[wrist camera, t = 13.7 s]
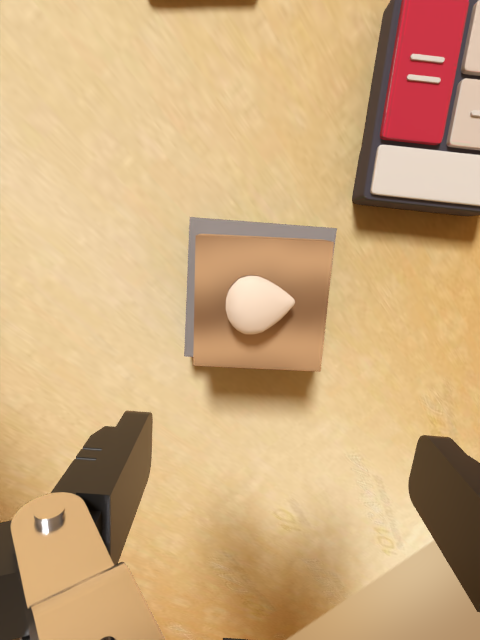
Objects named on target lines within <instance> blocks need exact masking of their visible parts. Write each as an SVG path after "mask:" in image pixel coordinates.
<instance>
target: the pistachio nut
mask: <svg viewBox="0 0 480 640" xmlns="http://www.w3.org/2000/svg"><path fill="white" fill-rule="evenodd" d="M294 304H295V300H294V299H293V298H292V297H291V296H290V295H289V294H288V293H287V292H285V291H284V290H283V289H281V288H280V287H279V286H277V285H275V284H274V283H272V282H270V281H269V280H267V279H264V278H262V277H260V276H254V275H247V276H243V277H239V278H238V279H237V280H236V281H235V282H234V283H233V284H232V285H231V287H230V288H229V291H228V294H227V297H226V312H227V316H228V319H229V321H230V323H231V324H232V326H233V327H234V328H235V329H236V330H238V331H239V332H241V333H243V334H258V333H262V332H264V331H265V330H267V329H268V328H270V327H271V326H273V325H274V324H276V323H277V322H278V321H280V320H281V319H282V318H283V317H284V316H285V315H286V314H287V313H288V311H289V310H290V309H291V308H292V307H293V306H294Z"/></svg>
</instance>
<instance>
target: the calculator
mask: <svg viewBox="0 0 480 640" xmlns="http://www.w3.org/2000/svg"><path fill="white" fill-rule="evenodd" d="M352 201H353V203H355V204H359V205H368V206H377V207H386V208H395V209H405V210H414V211H423V212H432V213H442V214H451V215H460V216H475V215H480V0H391V1H390V3H389V4H388V6H387V8H386V9H385V11H384V14H383V19H382V25H381V31H380V36H379V42H378V48H377V54H376V60H375V66H374V72H373V78H372V85H371V91H370V97H369V104H368V110H367V117H366V123H365V129H364V136H363V142H362V148H361V151H360V155H359V161H358V167H357V172H356V178H355V184H354V190H353V197H352Z"/></svg>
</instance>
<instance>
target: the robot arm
mask: <svg viewBox="0 0 480 640" xmlns="http://www.w3.org/2000/svg"><path fill="white" fill-rule="evenodd" d="M151 454H152V413H149V412H137V411H125V413H124V414H123V416H122V418H121V419H120V421H119V423H118V424H117V426H116V427H109V426H105V427H103V428H102V429H100V430H99V431H97V432H96V433H94V434H92V435H91V436H90V438H89V439H88V440H87V442H86V443H85V445H84V446H83V449H81V450H80V452H79V453H78V455H77V456H76V459H74V460H73V462H72V463H71V465H70V466H69V468H68V469H67V470H66V472H65V473H64V475H63V476H62V478H61V479H60V480H59V482H58V483H57V485H56V486H55V488H54V489H53V490H52V492H51V493H50V494H46V495H43V496H40V497H37V498H35V499H33V500H31V501H30V502H28V503H26V504H25V505H24V506H22V507H21V508H20V509H19V510H18V511H17V512H16V514H15V515H14V517H13V519H12V520H11V521H7V522H2V523H0V640H12V639H16V638H20V640H165V638H164V636H163V634H162V632H161V630H160V628H159V626H158V624H157V622H156V620H155V618H154V616H153V614H152V612H151V610H150V609H149V607H148V605H147V603H146V601H145V599H144V597H143V595H142V593H141V591H140V589H139V587H138V585H137V583H136V581H135V579H134V577H133V575H132V573H131V571H130V569H129V568H128V566H127V565H126V564H125V563H124V562H120V563H118V561H119V558H120V556H121V553H122V550H123V547H124V545H125V542H126V539H127V536H128V534H129V531H130V528H131V525H132V523H133V520H134V517H135V514H136V512H137V509H138V506H139V503H140V501H141V498H142V495H143V492H144V489H145V487H146V484H147V481H148V478H149V473H150V467H151ZM409 494H410V498H411V501H412V503H413V505H414V507H415V508H416V510H417V512H418V513H419V515H420V517H421V518H422V520H423V522H424V523H425V525H426V527H427V528H428V530H429V532H430V533H431V535H432V537H433V538H434V540H435V542H436V543H437V545H438V547H439V548H440V550H441V551H442V553H443V555H444V557H445V558H446V560H447V562H448V563H449V565H450V567H451V568H452V570H453V572H454V573H455V575H456V577H457V578H458V580H459V582H460V583H461V585H462V587H463V588H464V590H465V591H466V593H467V595H468V596H469V598H470V600H471V602H472V603H473V605H474V607H475V608H476V610H477V612H480V463H479V462H478V461H476V460H474V459H473V458H471V457H470V456H468V455H467V454H466V453H465V452H464V451H463V450H462V449H461V448H460V447H459V446H458V445H457V444H456V443H455V442H454V441H453V440H452V439H451V438H449V437H439V436H427V435H423V436H421V437H420V438H419V440H418V443H417V447H416V451H415V456H414V460H413V464H412V469H411V473H410V477H409ZM223 640H246V639H232V638H223Z"/></svg>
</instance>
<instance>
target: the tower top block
mask: <svg viewBox="0 0 480 640" xmlns="http://www.w3.org/2000/svg"><path fill="white" fill-rule="evenodd" d="M333 248H334V242H332V241H327V240H323V239H303V238H282V237H262V236H241V235H220V234H198V235H196V237H195V294H194V351H193V366H213V367H234V368H256V369H277V370H299V371H320V370H321V361H322V351H323V342H324V333H325V323H326V314H327V304H328V295H329V286H330V276H331V267H332V258H333ZM247 275H254V276H260V277H262V278H264V279H267V280H269V281H270V282H272V283H274V284H275V285H277V286H279V287H280V288H281V289H283V290H284V291H285V292H287V293H288V294H289V295H290V296H291V297H292V298H293V299H294V300H295V304H294V306H293V307H292V308H291V309H290V310H289V311H288V313H287V314H286V315H285V316H284V317H283V318H282V319H281V320H280V321H278V322H277V323H276V324H274V325H273V326H271V327H270V328H268V329H267V330H265V331H264V332H262V333H258V334H243V333H241V332H239V331H238V330H236V329H235V328H234V327H233V326H232V324H231V323H230V321H229V319H228V316H227V312H226V297H227V294H228V291H229V288H230V287H231V285H232V284H233V283H234V282H235V281H236V280H237V279H238V278H239V277H243V276H247Z"/></svg>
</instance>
